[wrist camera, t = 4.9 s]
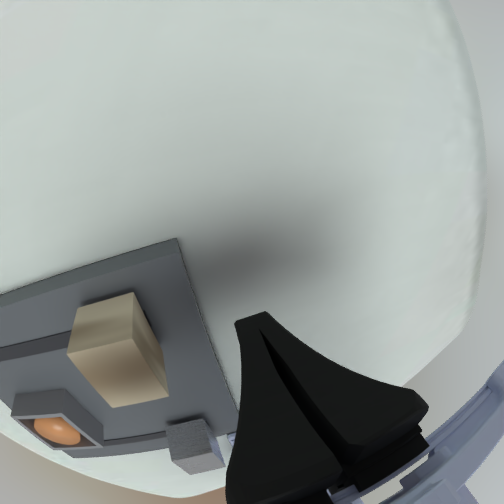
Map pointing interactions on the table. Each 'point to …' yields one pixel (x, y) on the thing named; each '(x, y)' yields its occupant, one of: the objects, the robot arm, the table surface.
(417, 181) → the table surface
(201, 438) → the steel slider
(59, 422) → the push button
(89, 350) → the birch slider
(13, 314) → the control panel
